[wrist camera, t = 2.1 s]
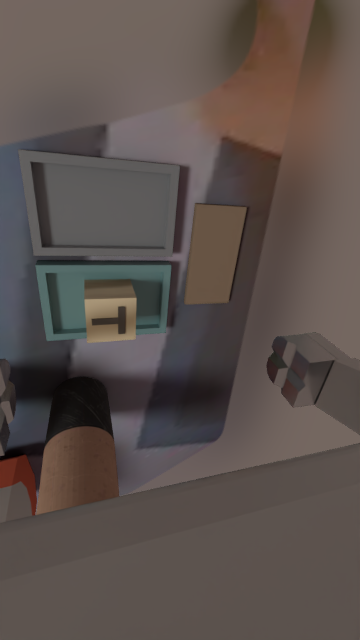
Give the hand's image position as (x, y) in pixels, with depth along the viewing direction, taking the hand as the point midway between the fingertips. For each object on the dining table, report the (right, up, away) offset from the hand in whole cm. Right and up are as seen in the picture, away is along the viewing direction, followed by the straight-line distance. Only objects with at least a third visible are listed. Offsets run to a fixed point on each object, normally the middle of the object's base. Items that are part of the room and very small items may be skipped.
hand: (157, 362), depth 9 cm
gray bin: (-7, +13, +21) cm, 25 cm away
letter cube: (-8, +4, +25) cm, 27 cm away
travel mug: (-13, -9, +32) cm, 36 cm away
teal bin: (-8, +4, +26) cm, 27 cm away
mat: (+5, +9, +27) cm, 29 cm away
